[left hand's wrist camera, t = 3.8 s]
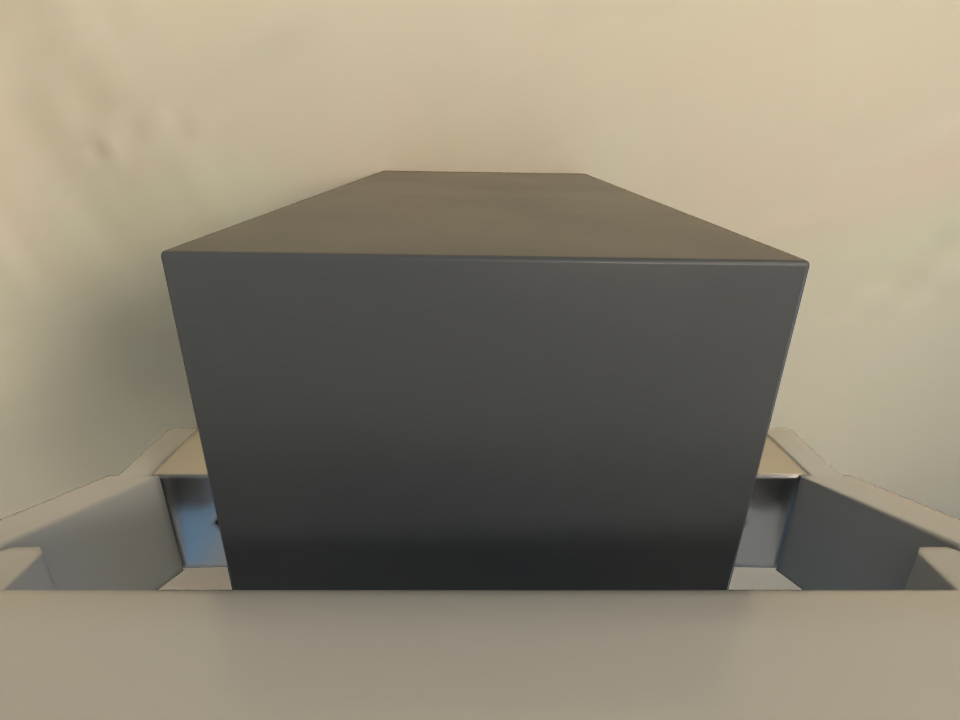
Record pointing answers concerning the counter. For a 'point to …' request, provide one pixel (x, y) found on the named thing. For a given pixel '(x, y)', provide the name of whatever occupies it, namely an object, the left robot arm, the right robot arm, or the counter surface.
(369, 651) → the left robot arm
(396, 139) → the counter surface
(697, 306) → the box
